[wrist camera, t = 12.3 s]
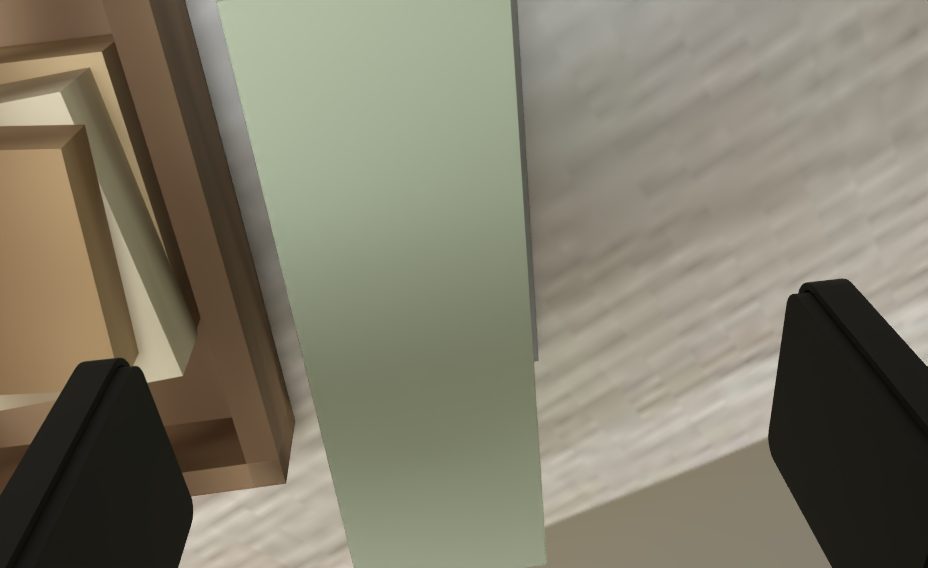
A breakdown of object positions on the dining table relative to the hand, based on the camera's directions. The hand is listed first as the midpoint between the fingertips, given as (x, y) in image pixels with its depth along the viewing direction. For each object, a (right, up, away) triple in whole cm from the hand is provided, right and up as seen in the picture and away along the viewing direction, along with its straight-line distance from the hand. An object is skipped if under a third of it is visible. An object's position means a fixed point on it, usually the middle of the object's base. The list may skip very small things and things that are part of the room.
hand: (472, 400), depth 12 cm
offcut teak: (-11, +2, +7) cm, 13 cm away
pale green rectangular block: (-2, +6, +11) cm, 12 cm away
